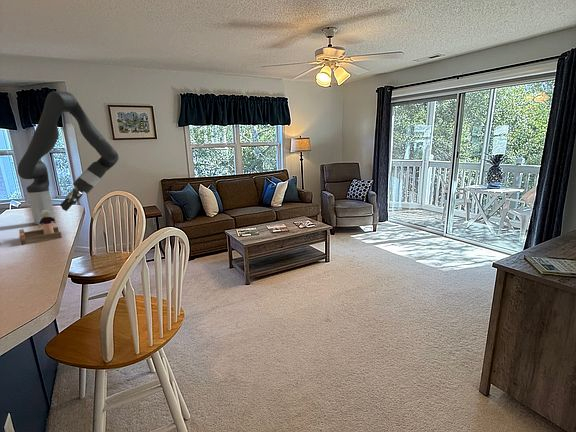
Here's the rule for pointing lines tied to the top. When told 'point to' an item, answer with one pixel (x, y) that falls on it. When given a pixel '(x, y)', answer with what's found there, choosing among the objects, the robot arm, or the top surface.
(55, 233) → the trap box
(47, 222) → the grandmother figurine
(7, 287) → the top surface
